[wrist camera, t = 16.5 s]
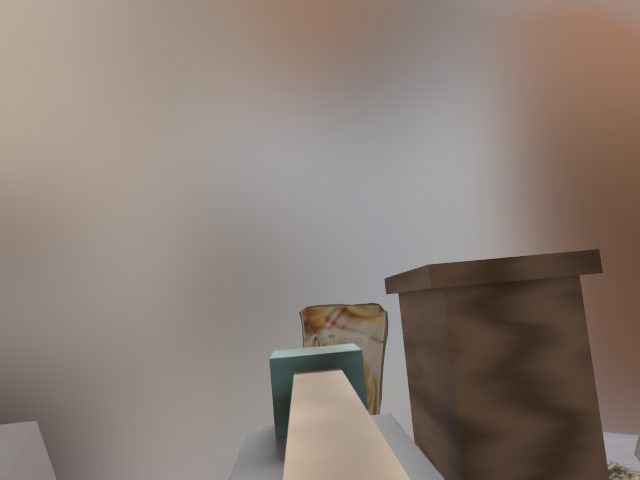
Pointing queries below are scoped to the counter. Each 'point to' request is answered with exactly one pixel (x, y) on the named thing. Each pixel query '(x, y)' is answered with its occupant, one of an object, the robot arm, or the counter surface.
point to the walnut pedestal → (502, 367)
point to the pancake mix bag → (352, 338)
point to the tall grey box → (269, 453)
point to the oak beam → (328, 416)
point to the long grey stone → (621, 472)
